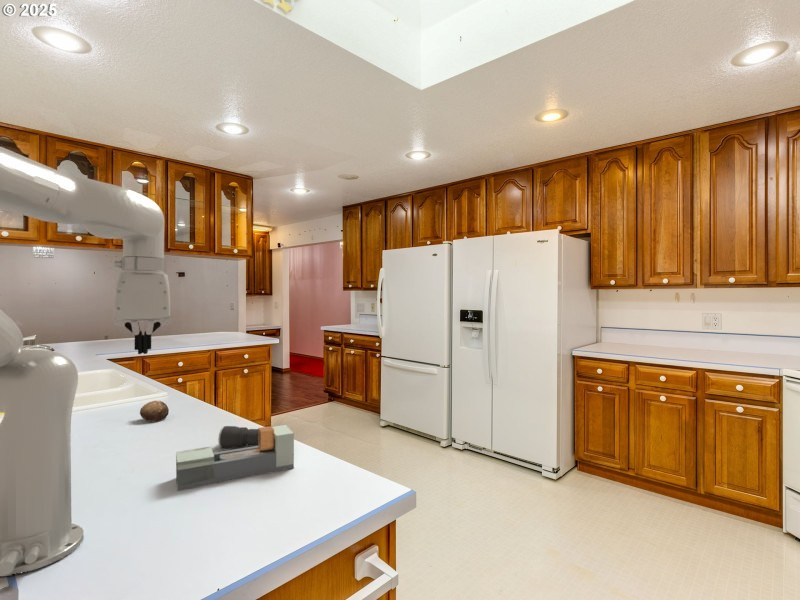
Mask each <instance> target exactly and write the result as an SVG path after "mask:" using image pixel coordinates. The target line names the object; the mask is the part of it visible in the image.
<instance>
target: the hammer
mask: <svg viewBox="0 0 800 600" xmlns="http://www.w3.org/2000/svg"><path fill="white" fill-rule="evenodd" d="M272 427H273V426H271V425H270V426H263V427H258V428H257V429H258V447H259V449H253V450H247V451H241V452H235V453H229V454H223V455H219V461H222V460H228V459H234V458H239V457H245V456H251V455H257V454H263V453H269V452H274V451H275V446H274V429H273V428H272Z"/></svg>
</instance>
